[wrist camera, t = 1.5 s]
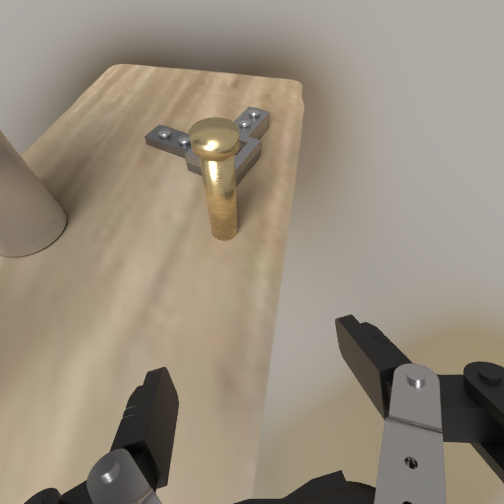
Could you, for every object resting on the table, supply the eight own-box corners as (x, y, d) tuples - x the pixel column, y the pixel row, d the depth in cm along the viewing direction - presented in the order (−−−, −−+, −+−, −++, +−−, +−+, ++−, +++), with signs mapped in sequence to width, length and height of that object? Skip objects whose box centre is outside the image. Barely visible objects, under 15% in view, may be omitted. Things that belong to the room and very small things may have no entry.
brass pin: (201, 235, 37) (179, 137, 25) (218, 212, 40) (206, 112, 28) (231, 248, 36) (222, 152, 24) (247, 224, 39) (247, 125, 27)
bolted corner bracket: (138, 151, 47) (131, 132, 44) (193, 105, 55) (190, 86, 52) (235, 187, 43) (234, 168, 40) (279, 131, 51) (281, 112, 48)
